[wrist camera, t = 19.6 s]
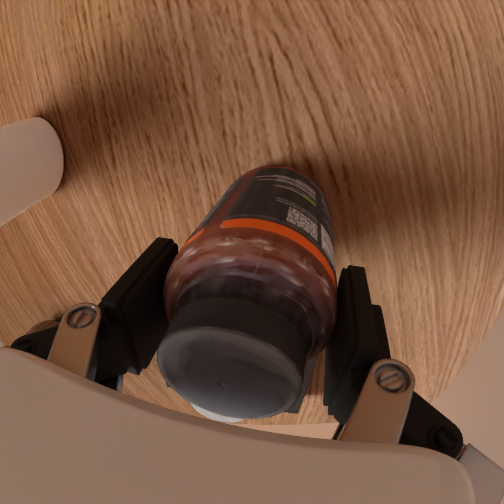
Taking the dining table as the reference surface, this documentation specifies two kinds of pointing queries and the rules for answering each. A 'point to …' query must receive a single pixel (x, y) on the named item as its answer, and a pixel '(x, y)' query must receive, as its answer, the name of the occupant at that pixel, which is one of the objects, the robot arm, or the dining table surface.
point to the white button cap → (215, 415)
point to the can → (28, 165)
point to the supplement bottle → (251, 297)
